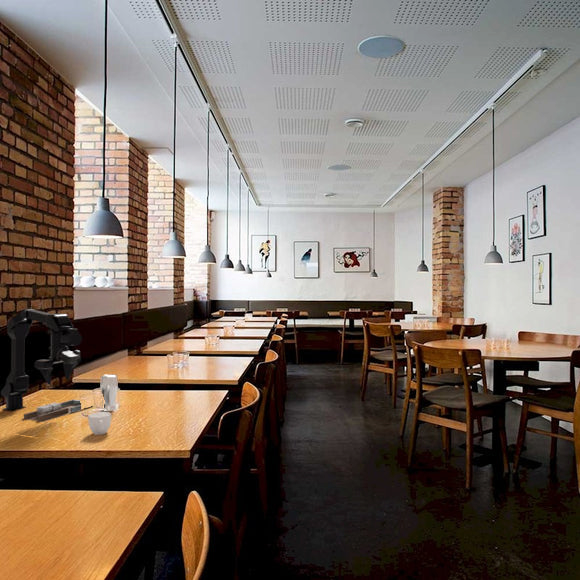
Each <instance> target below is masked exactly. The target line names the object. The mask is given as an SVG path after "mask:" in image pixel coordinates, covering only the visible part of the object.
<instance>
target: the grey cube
mask: <svg viewBox="0 0 580 580" xmlns="http://www.w3.org/2000/svg"><path fill="white" fill-rule="evenodd" d="M36 411H37V417H38V416H40V415H43V414H47V413H50V412H52V406H48V404H45V405H41V406H37V407H36Z"/></svg>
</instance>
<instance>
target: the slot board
mask: <svg viewBox="0 0 580 580" xmlns="http://www.w3.org/2000/svg"><path fill="white" fill-rule="evenodd" d="M60 403H61V409H60V410H57V411H53V412H50V413H47V414H43V415H40V416H38V417H37V410H35V411H31V412H26V413H23V417H22V418H21V419H22V420H27V421H33V422H41V423H45V422H47V421H51V420H54V419H57V418H60V417H64V416H68V415H71V414H74V413H76V412H80V411H82V410H81V403H80V399H79V400H78V399H70V400H67V401H63V402H60Z"/></svg>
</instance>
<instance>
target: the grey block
mask: <svg viewBox="0 0 580 580" xmlns="http://www.w3.org/2000/svg"><path fill="white" fill-rule="evenodd" d="M61 403H62V402H52V403H47V405H48V406H52V412H53V411H57V410H60V409H61Z"/></svg>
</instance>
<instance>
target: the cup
mask: <svg viewBox="0 0 580 580" xmlns="http://www.w3.org/2000/svg"><path fill="white" fill-rule="evenodd" d="M87 416H88V417H87V418H88V426H89V429H90V431H91V432H92V434H93V435H96V436H100V435H105V434H106V433H107V432H108V430H109V428H110V426H111V422H112V412H110V411H101V412H100V411H99V412H98V411H97V412H93V413H90V414H89V415H87Z"/></svg>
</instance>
